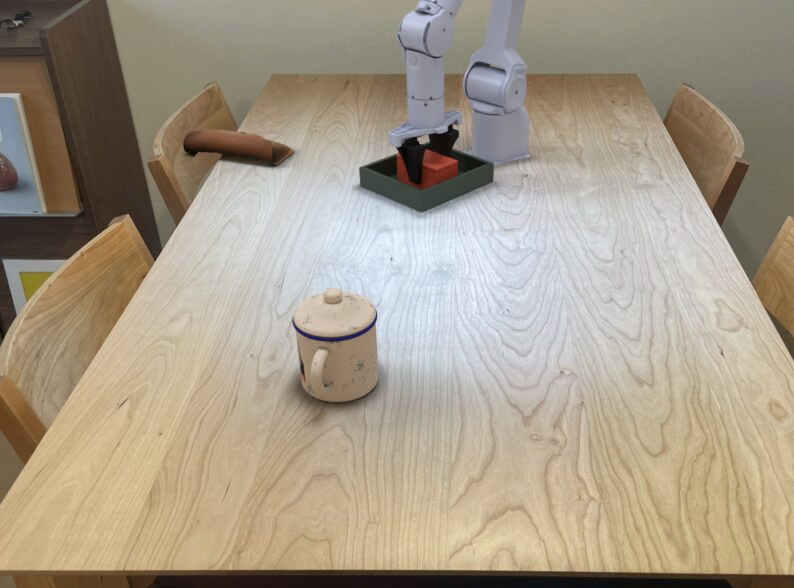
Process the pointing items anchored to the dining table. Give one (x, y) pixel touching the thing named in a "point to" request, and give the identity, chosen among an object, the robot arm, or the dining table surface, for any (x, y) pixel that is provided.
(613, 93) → the dining table surface
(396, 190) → the tote
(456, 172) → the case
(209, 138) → the sunglasses case
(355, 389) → the teacup with lid
